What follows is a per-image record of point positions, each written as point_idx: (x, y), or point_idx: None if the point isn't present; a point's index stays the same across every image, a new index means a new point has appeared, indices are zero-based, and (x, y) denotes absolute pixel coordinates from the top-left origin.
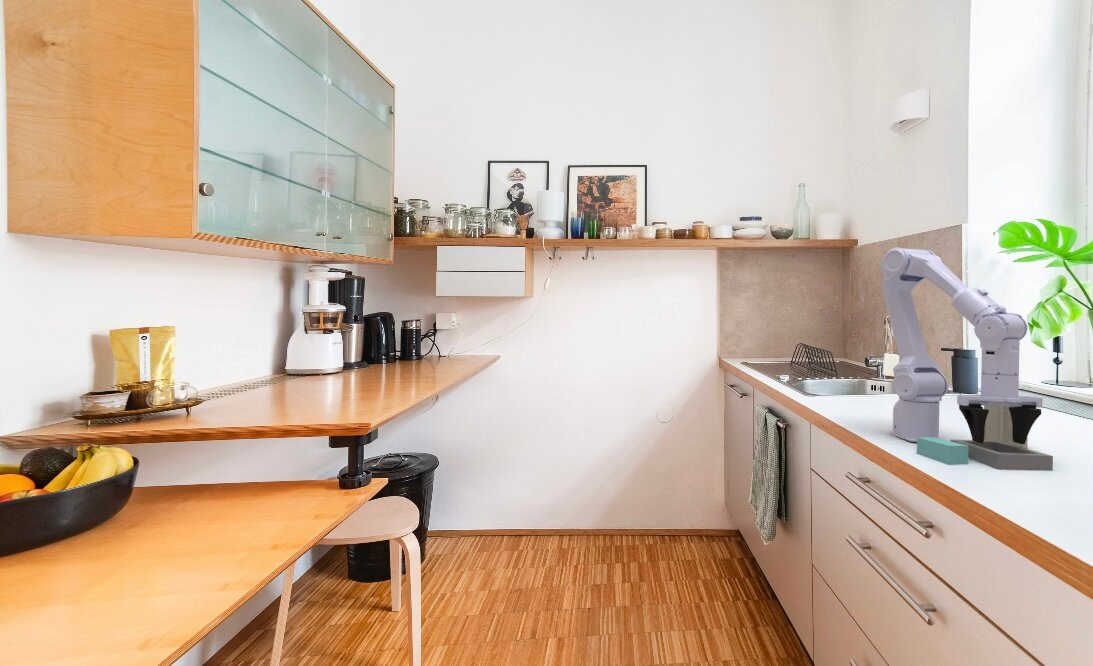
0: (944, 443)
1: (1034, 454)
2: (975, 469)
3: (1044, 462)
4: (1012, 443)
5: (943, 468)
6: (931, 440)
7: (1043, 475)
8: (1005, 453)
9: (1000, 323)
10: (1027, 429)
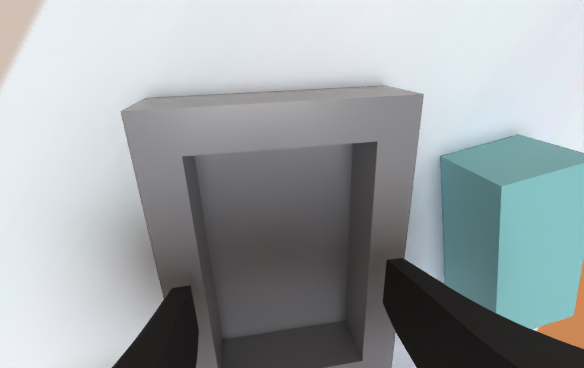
0: (571, 214)
1: (215, 130)
2: (466, 84)
3: (177, 103)
4: None
5: (580, 76)
6: (568, 269)
7: (235, 17)
8: (368, 121)
9: None
10: (144, 350)
